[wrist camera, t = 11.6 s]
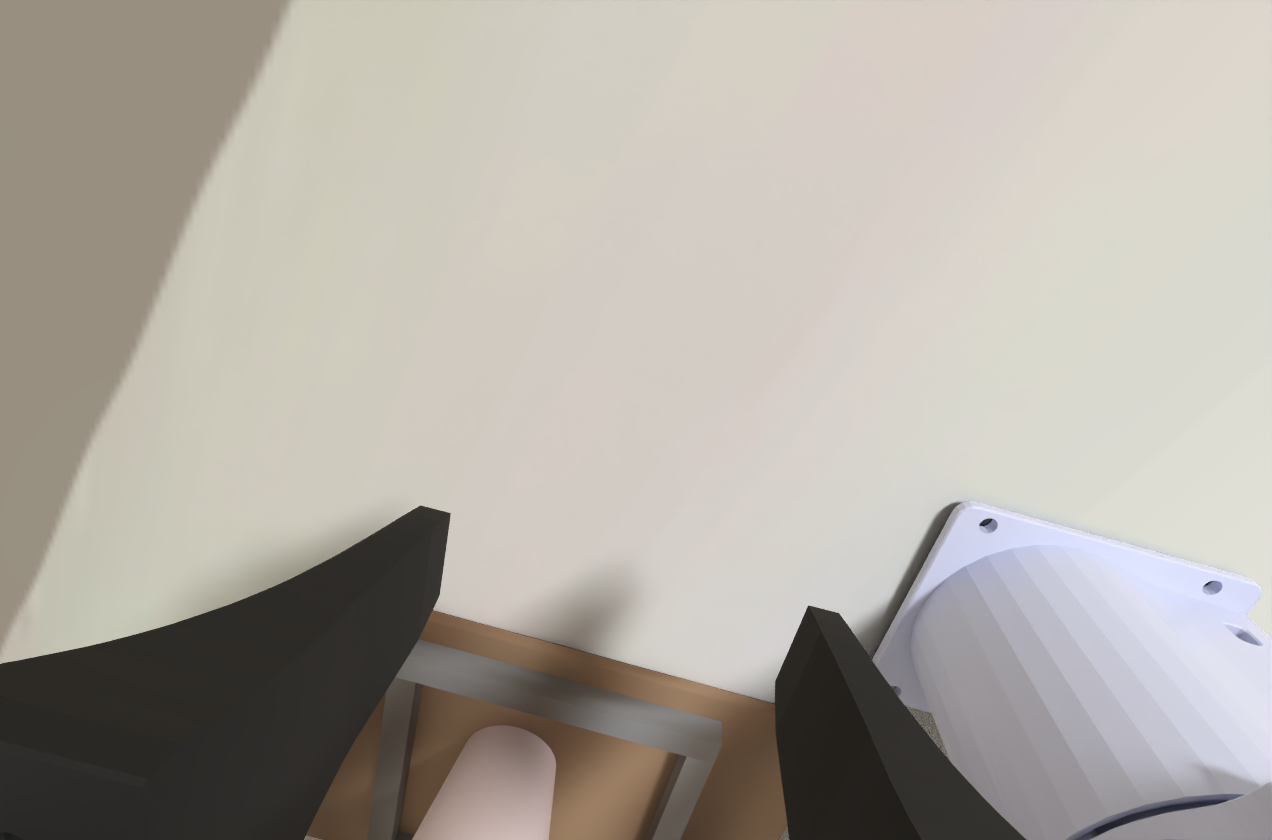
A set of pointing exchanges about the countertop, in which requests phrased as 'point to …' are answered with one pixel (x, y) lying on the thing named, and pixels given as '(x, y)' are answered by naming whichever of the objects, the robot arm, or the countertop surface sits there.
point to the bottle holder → (562, 743)
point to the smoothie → (495, 790)
